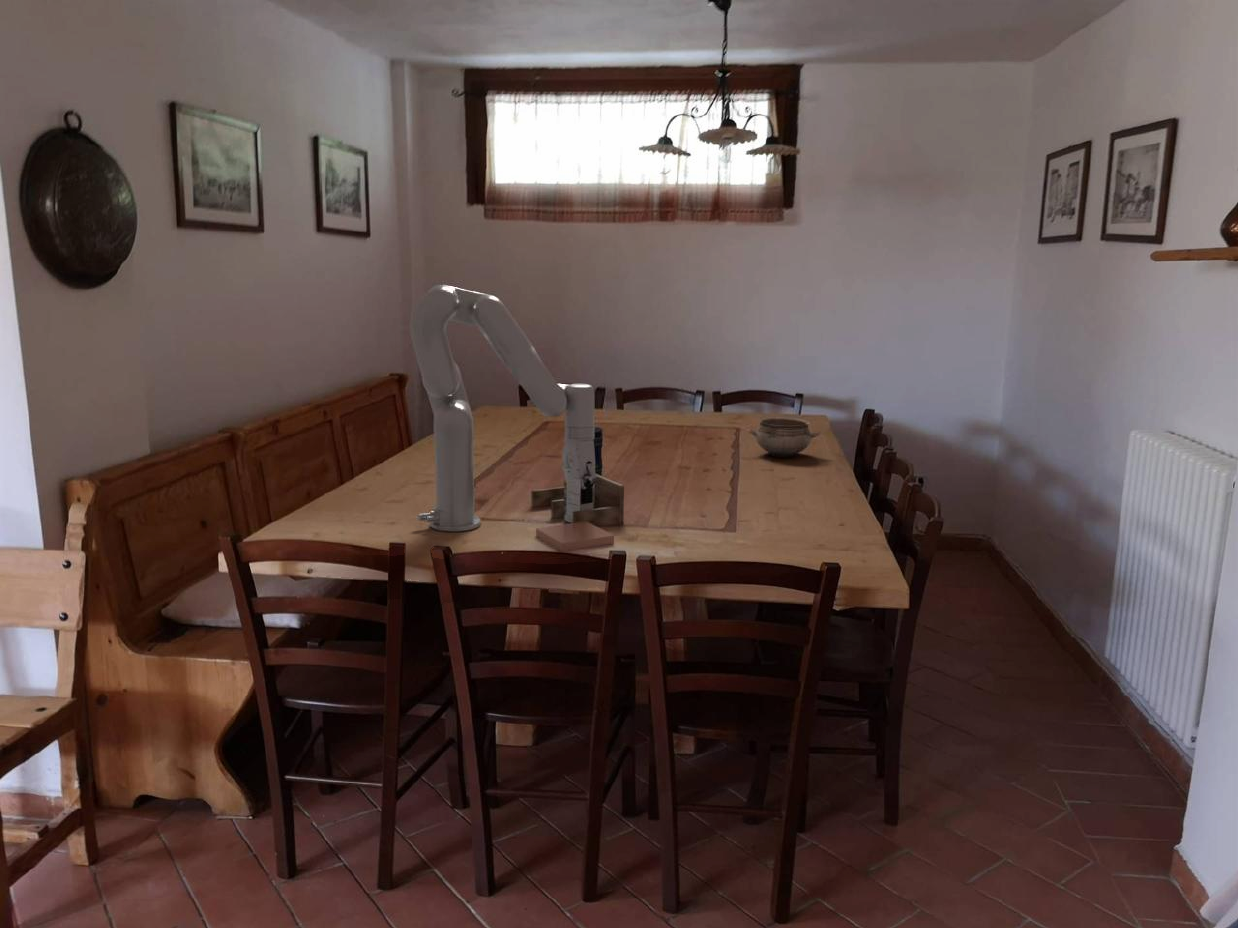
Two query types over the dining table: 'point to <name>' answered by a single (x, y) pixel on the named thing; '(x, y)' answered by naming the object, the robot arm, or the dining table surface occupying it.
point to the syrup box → (574, 496)
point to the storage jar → (598, 449)
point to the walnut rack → (604, 511)
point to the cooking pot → (783, 435)
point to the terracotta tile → (574, 536)
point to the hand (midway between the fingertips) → (579, 499)
